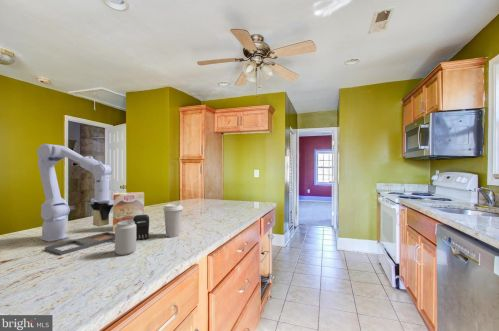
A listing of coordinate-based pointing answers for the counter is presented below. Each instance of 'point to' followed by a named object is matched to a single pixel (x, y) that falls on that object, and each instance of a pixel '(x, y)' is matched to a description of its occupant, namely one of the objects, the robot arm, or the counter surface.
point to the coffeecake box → (127, 206)
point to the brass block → (99, 218)
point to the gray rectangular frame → (82, 243)
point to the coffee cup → (173, 219)
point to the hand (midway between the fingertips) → (101, 219)
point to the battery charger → (141, 226)
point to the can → (125, 237)
